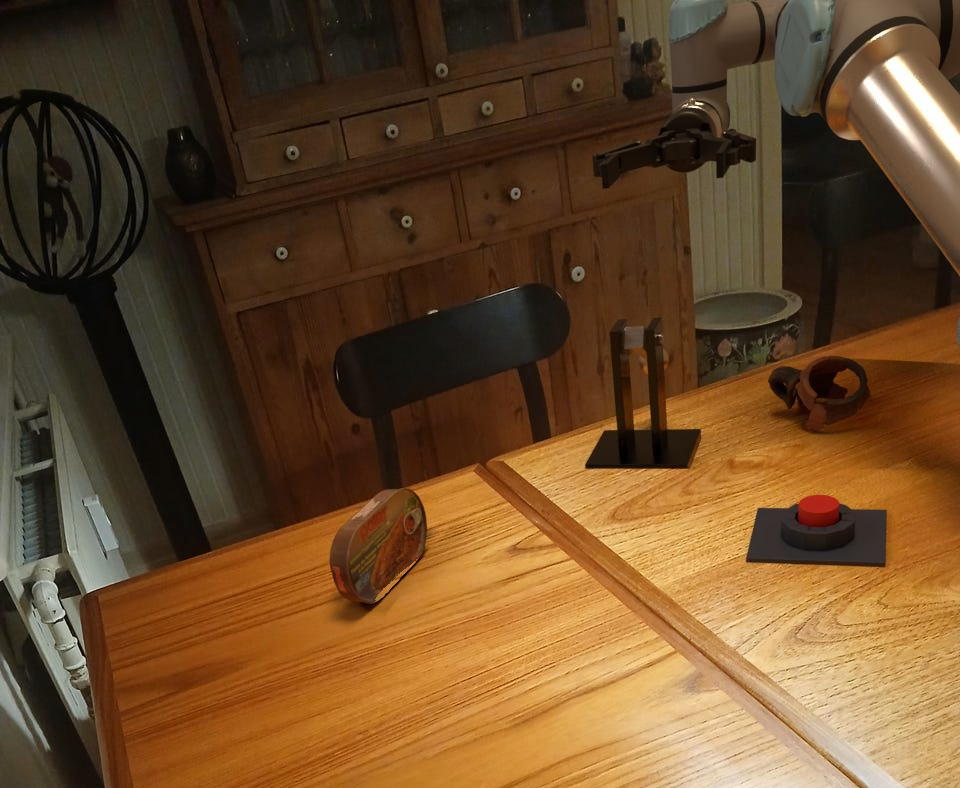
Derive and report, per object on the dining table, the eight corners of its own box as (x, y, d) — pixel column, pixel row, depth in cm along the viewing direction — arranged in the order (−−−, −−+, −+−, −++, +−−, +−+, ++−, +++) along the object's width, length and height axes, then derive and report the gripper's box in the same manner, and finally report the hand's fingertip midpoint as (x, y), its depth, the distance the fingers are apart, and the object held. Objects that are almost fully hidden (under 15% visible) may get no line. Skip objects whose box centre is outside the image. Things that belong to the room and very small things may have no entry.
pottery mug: (868, 402, 122) (885, 357, 114) (846, 462, 118) (861, 420, 111) (773, 377, 125) (783, 332, 118) (748, 435, 122) (757, 392, 114)
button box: (885, 529, 96) (888, 492, 93) (883, 583, 88) (887, 544, 86) (757, 526, 100) (757, 491, 98) (746, 578, 92) (745, 540, 90)
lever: (641, 379, 122) (642, 349, 122) (670, 378, 121) (671, 348, 121) (617, 354, 110) (619, 321, 109) (649, 353, 108) (651, 320, 108)
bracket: (604, 438, 124) (593, 313, 115) (701, 437, 120) (697, 307, 111) (585, 473, 116) (572, 342, 108) (687, 474, 112) (682, 337, 103)
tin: (363, 619, 97) (343, 545, 92) (337, 616, 98) (316, 542, 93) (434, 545, 107) (420, 474, 103) (410, 542, 109) (394, 473, 104)
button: (839, 511, 93) (840, 494, 92) (837, 529, 90) (838, 512, 89) (799, 510, 94) (800, 494, 93) (796, 528, 91) (796, 512, 90)
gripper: (596, 117, 135) (556, 147, 119) (786, 94, 126) (770, 124, 110) (600, 176, 139) (562, 213, 123) (784, 158, 130) (769, 195, 114)
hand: (660, 171), depth 117 cm, fingers open, 13 cm apart
